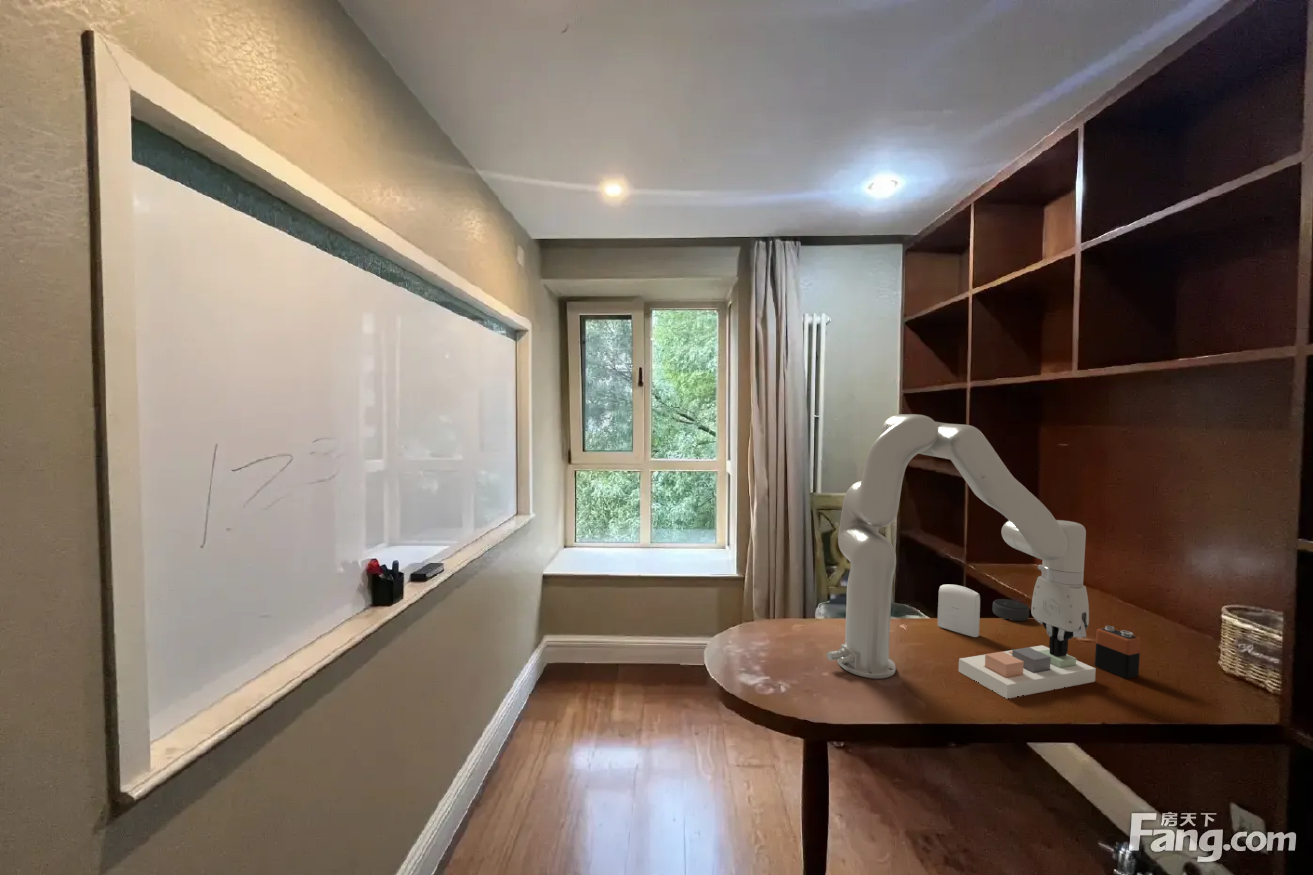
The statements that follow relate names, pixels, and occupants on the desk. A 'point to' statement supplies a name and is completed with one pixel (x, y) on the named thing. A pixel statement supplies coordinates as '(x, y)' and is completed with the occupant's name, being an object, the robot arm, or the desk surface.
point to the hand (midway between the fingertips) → (1058, 654)
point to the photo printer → (959, 609)
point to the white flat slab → (1026, 676)
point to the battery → (1117, 652)
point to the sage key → (1060, 659)
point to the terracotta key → (1004, 664)
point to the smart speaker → (1010, 610)
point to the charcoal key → (1032, 659)
